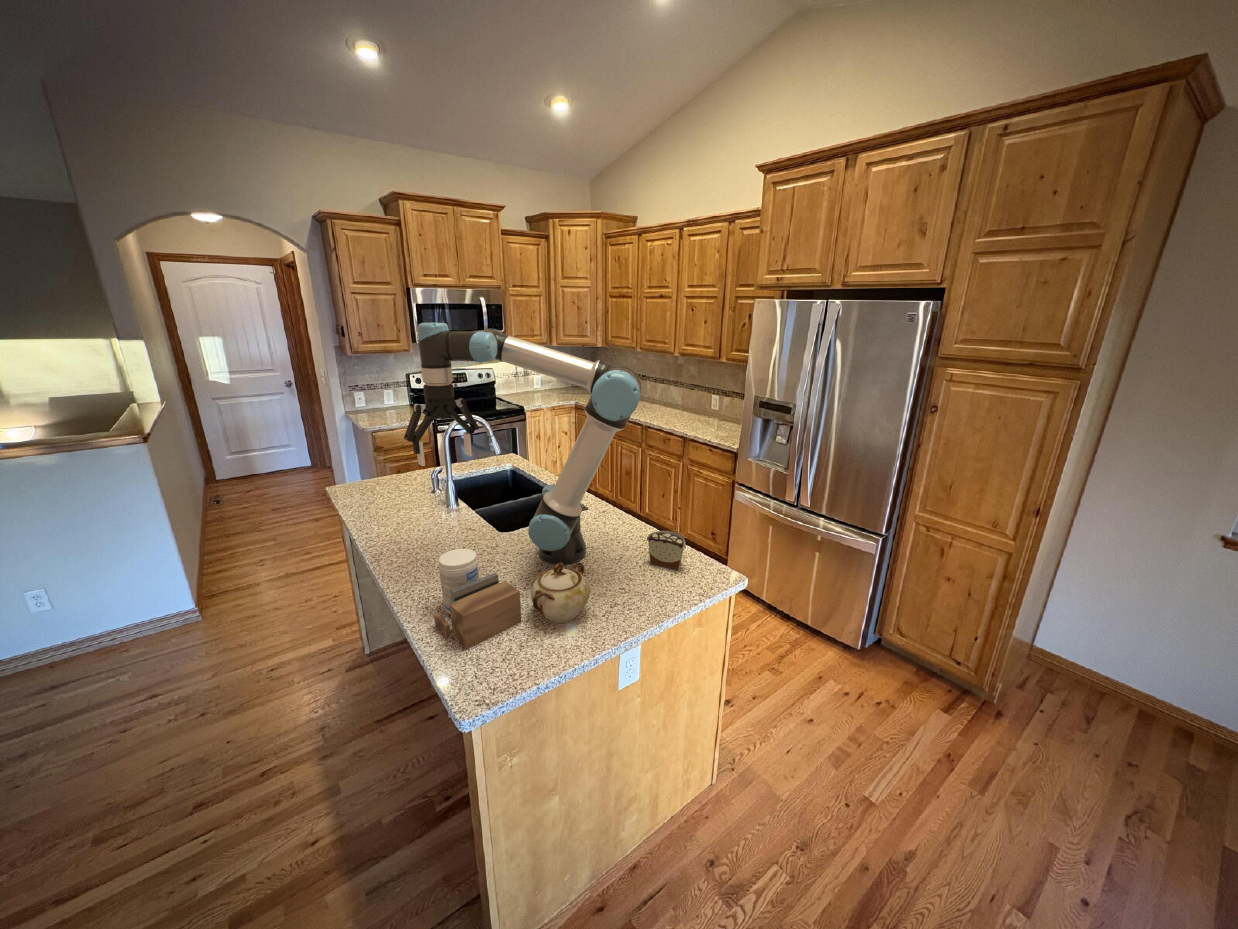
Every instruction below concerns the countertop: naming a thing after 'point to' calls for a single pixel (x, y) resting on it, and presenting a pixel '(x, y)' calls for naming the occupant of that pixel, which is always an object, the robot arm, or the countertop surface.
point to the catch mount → (482, 614)
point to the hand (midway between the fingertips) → (445, 459)
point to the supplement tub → (456, 572)
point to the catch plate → (474, 587)
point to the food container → (666, 549)
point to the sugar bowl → (561, 592)
